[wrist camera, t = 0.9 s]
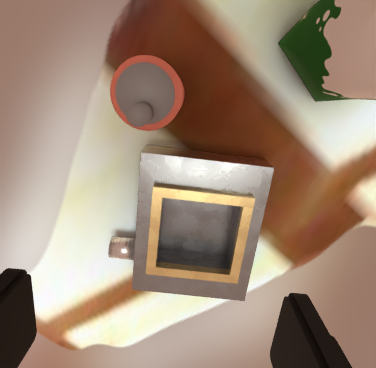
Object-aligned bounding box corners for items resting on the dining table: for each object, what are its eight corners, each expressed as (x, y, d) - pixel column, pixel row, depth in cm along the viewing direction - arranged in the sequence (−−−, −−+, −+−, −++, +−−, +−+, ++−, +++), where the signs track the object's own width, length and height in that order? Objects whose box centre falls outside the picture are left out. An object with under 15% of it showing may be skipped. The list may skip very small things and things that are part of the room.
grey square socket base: (119, 141, 30) (106, 150, 26) (263, 158, 31) (277, 170, 26) (114, 265, 35) (103, 292, 31) (238, 278, 36) (246, 307, 31)
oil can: (138, 64, 28) (97, 42, 16) (187, 70, 28) (185, 54, 16) (135, 115, 29) (95, 131, 17) (181, 120, 30) (176, 141, 17)
